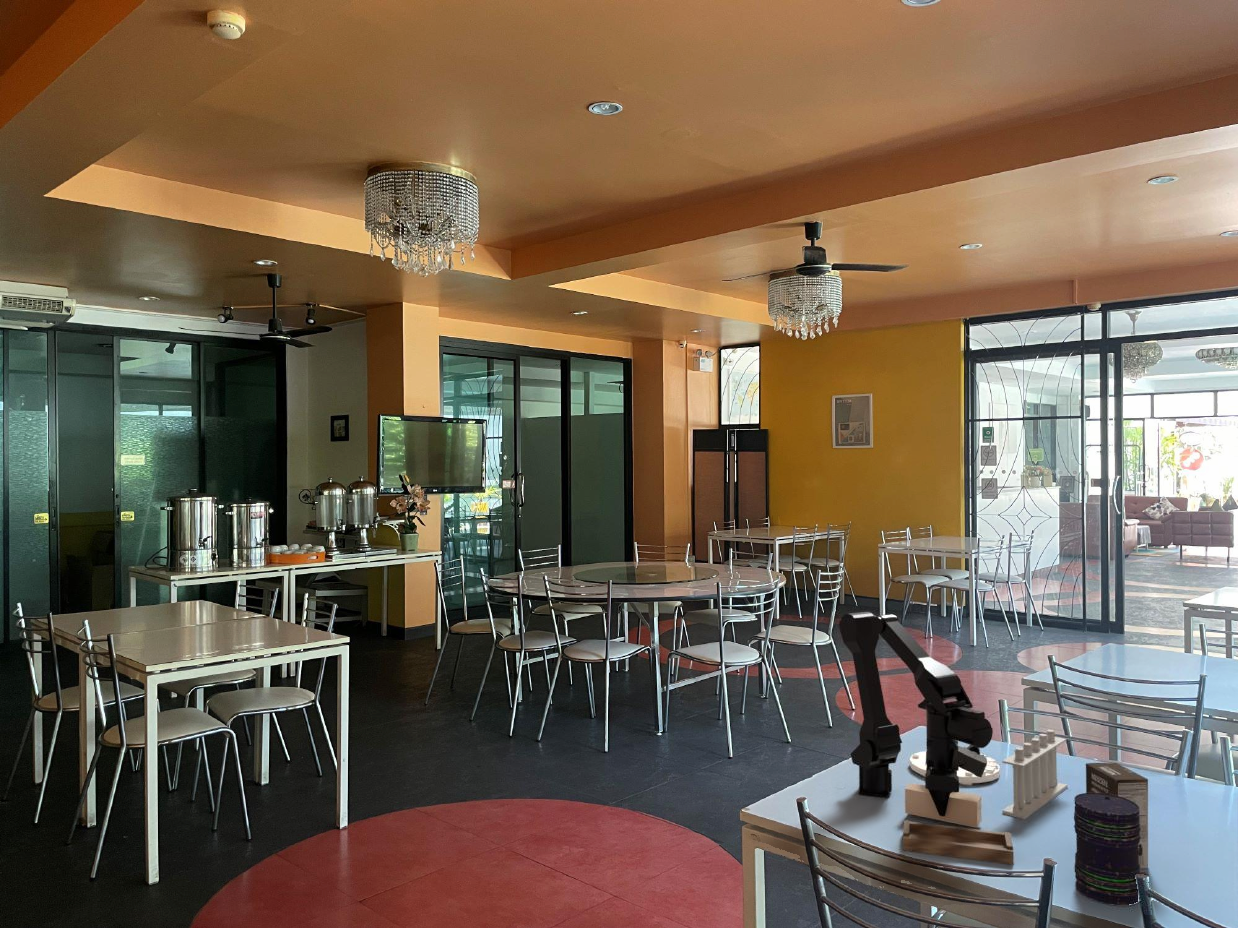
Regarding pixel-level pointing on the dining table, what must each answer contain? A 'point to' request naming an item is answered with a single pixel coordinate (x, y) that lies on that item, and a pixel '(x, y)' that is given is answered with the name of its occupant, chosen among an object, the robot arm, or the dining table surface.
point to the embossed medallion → (964, 776)
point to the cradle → (958, 842)
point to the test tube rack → (1034, 775)
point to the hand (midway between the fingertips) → (942, 811)
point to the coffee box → (1122, 794)
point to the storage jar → (1107, 848)
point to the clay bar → (958, 809)
